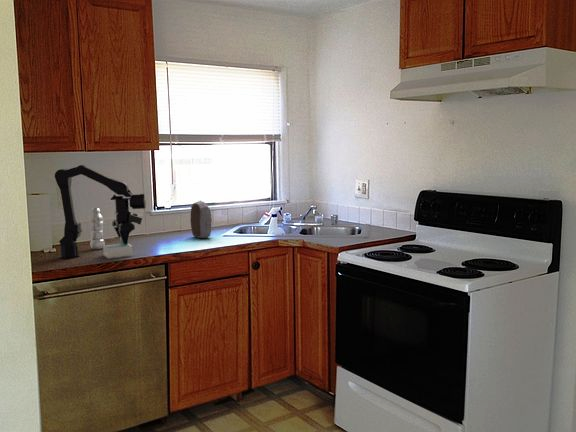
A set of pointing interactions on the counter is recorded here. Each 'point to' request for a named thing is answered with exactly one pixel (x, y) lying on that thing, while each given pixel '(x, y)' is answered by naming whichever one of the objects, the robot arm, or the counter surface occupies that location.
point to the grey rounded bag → (200, 220)
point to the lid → (118, 244)
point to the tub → (118, 251)
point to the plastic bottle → (96, 229)
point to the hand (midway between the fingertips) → (124, 243)
